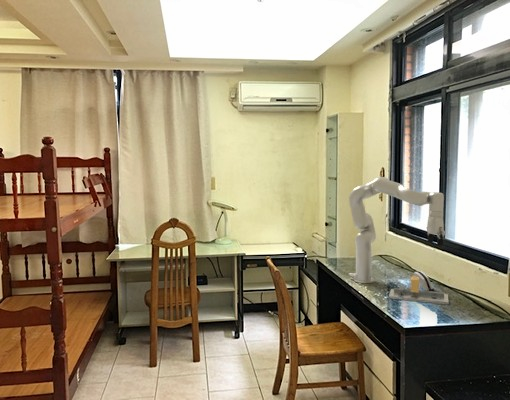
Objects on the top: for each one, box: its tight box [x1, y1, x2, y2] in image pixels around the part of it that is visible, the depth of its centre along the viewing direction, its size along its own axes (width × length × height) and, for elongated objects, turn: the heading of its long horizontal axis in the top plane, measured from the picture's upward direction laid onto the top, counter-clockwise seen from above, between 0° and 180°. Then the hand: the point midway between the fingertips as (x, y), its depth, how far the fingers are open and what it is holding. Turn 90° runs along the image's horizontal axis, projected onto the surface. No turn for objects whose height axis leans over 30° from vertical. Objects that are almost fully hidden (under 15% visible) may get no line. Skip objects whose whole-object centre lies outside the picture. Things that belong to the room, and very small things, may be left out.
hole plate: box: [388, 288, 450, 306], centre depth 240 cm, size 30×14×2 cm, turn 68°
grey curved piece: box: [413, 270, 436, 291], centre depth 260 cm, size 17×5×10 cm, turn 1°
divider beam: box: [393, 285, 445, 297], centre depth 241 cm, size 26×7×3 cm, turn 68°
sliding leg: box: [410, 275, 420, 296], centre depth 241 cm, size 4×7×9 cm, turn 158°
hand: (435, 243), depth 249 cm, fingers open, 9 cm apart
